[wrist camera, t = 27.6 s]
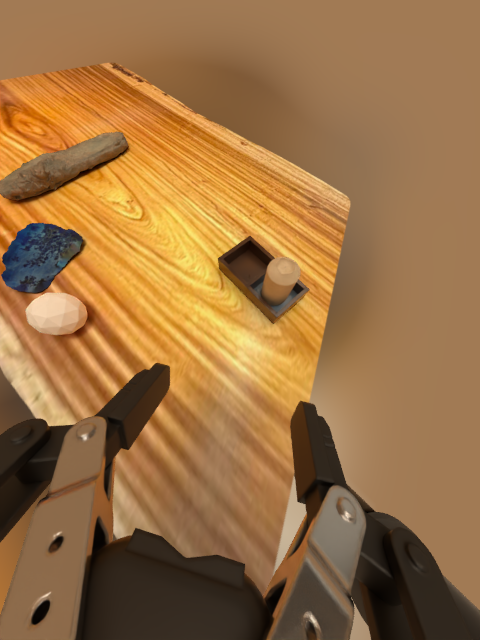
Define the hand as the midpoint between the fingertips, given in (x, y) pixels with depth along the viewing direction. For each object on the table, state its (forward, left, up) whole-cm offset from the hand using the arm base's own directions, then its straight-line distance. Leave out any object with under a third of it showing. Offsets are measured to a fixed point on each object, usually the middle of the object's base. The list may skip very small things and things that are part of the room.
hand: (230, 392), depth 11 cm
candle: (+8, -18, -22) cm, 29 cm away
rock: (+49, +15, -23) cm, 56 cm away
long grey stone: (+72, -3, -23) cm, 76 cm away
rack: (+12, -18, -23) cm, 31 cm away
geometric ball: (+30, +16, -23) cm, 41 cm away
